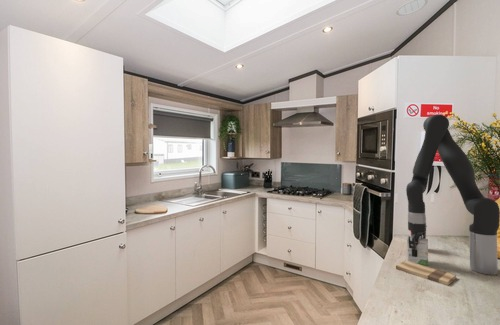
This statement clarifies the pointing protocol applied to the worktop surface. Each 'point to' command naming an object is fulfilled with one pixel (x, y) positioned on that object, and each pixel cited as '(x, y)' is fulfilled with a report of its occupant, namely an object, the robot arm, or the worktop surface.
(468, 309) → the worktop surface
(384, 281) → the worktop surface
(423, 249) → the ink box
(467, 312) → the worktop surface
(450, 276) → the board
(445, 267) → the worktop surface
